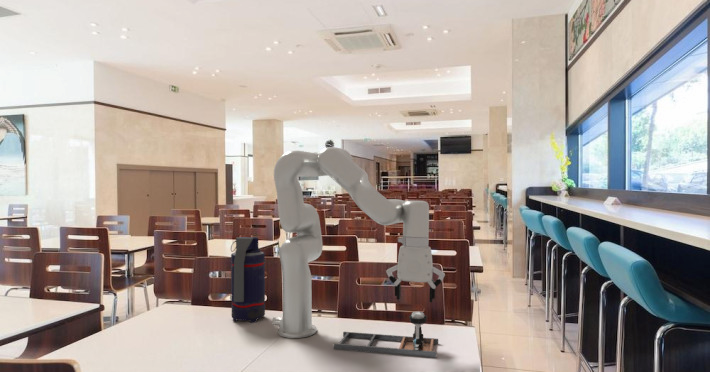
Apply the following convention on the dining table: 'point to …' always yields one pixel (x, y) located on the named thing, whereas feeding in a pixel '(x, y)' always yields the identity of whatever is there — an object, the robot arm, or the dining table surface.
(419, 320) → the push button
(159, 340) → the dining table surface
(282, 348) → the dining table surface
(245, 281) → the grenade
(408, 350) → the divided tray
